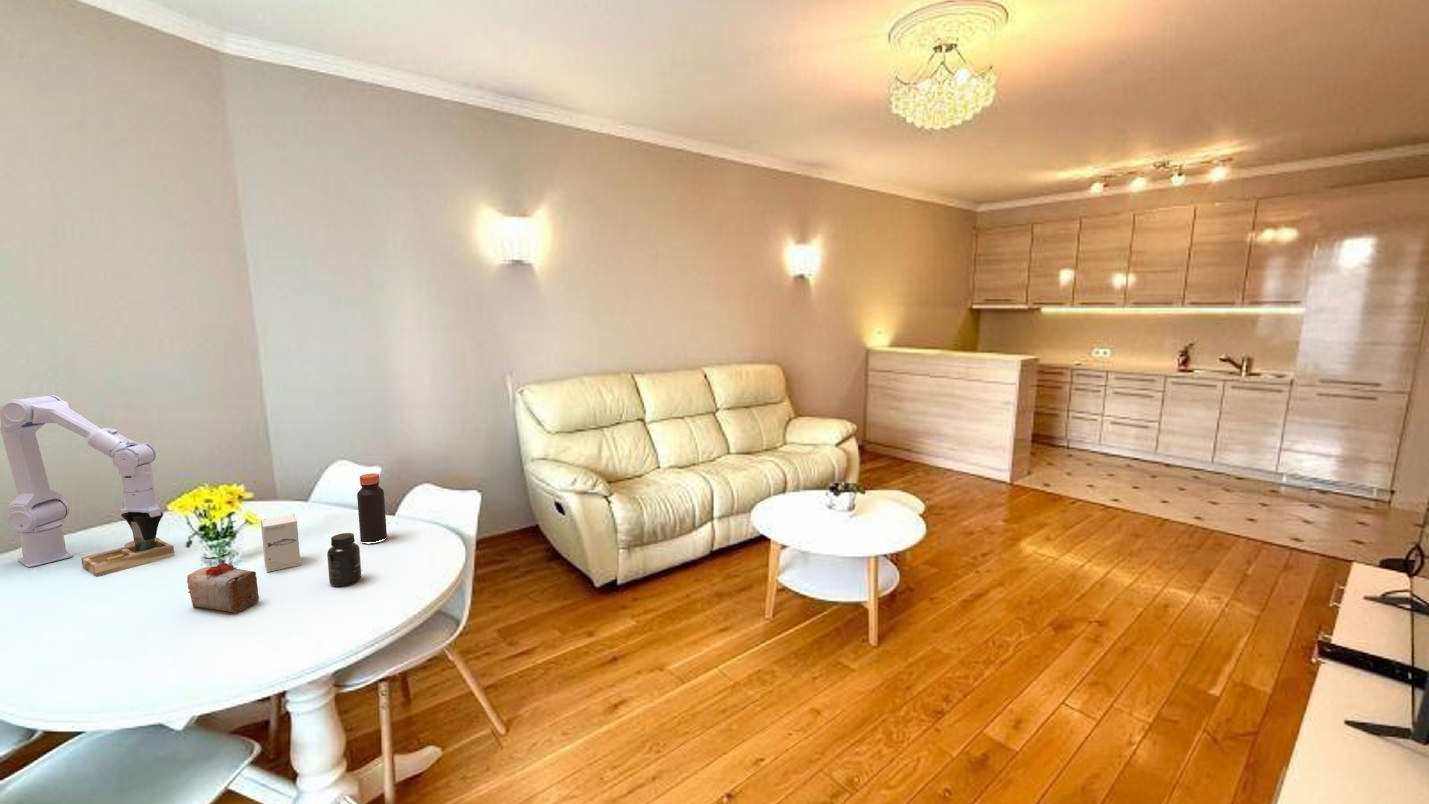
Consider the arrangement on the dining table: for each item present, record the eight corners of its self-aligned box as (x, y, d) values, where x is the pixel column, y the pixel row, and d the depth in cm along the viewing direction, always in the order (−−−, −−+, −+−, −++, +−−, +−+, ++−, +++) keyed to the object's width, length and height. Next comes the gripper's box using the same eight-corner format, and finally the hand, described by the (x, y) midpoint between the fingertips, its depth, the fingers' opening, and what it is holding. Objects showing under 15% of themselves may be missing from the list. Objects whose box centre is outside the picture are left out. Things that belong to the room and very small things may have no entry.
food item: (183, 609, 128) (178, 568, 127) (220, 593, 136) (216, 554, 134) (231, 617, 125) (226, 575, 124) (266, 599, 133) (262, 560, 131)
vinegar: (378, 545, 165) (373, 479, 162) (355, 544, 165) (350, 478, 162) (391, 536, 172) (387, 472, 169) (369, 535, 172) (365, 472, 169)
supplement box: (266, 573, 146) (261, 526, 144) (264, 563, 152) (260, 518, 150) (301, 565, 151) (297, 520, 149) (298, 556, 156) (294, 512, 155)
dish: (121, 550, 158) (120, 543, 157) (154, 542, 164) (153, 535, 164) (130, 555, 154) (129, 548, 154) (164, 547, 161) (163, 540, 160)
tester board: (82, 567, 147) (80, 554, 146) (159, 548, 160) (157, 535, 159) (96, 576, 142) (94, 563, 142) (174, 555, 155) (173, 543, 155)
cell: (132, 549, 153) (127, 519, 151) (151, 543, 156) (146, 514, 155) (140, 552, 151) (135, 521, 150) (159, 546, 155) (154, 516, 153)
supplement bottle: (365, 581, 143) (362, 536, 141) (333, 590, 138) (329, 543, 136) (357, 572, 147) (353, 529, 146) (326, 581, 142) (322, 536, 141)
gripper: (105, 489, 151) (112, 538, 153) (133, 497, 145) (140, 547, 147) (139, 483, 157) (146, 529, 159) (168, 490, 151) (174, 538, 153)
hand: (145, 537), depth 153 cm, fingers closed on cell, 4 cm apart
